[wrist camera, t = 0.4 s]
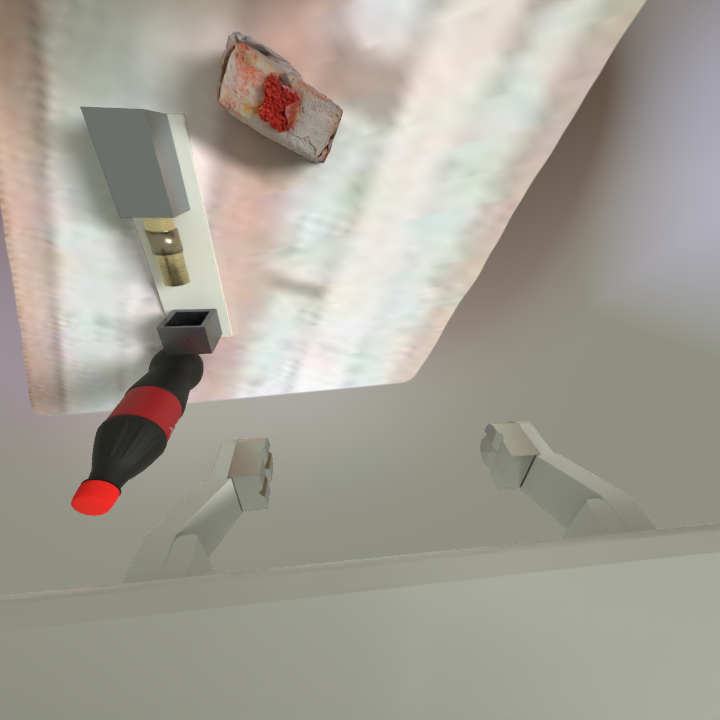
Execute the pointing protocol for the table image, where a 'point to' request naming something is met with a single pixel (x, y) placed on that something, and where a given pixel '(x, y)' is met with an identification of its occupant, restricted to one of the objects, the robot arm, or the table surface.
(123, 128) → the grey tapered slab
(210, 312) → the socket
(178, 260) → the tube
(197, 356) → the cola bottle
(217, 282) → the base
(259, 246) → the table surface
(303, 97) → the food item
